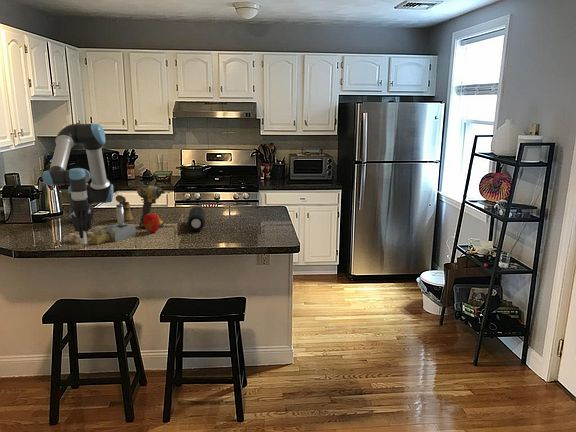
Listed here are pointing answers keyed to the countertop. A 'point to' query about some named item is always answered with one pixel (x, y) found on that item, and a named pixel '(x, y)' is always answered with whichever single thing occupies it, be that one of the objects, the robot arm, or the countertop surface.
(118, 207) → the rod
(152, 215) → the apple
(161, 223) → the cordless drill
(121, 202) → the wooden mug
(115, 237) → the socket block
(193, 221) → the portable speaker
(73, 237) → the wooden square frame
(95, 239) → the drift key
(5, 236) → the countertop surface
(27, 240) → the countertop surface
